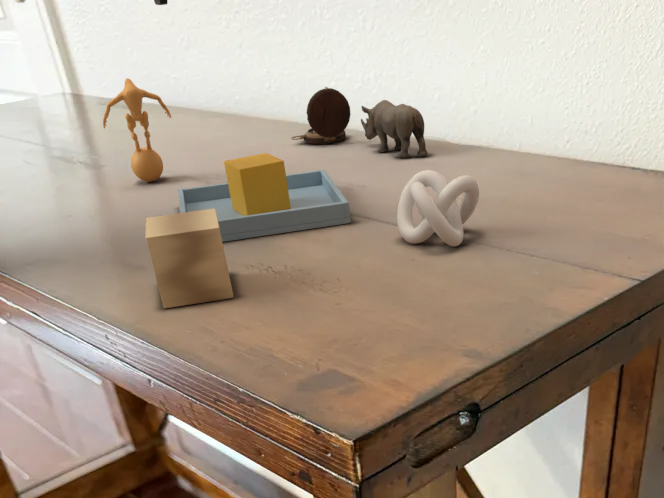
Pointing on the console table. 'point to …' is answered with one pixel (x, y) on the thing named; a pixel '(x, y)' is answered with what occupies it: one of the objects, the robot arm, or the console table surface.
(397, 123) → the rhino figurine
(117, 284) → the console table surface
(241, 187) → the top block
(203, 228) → the base block
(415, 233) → the knot
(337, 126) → the compass
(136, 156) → the figurine
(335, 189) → the tray
